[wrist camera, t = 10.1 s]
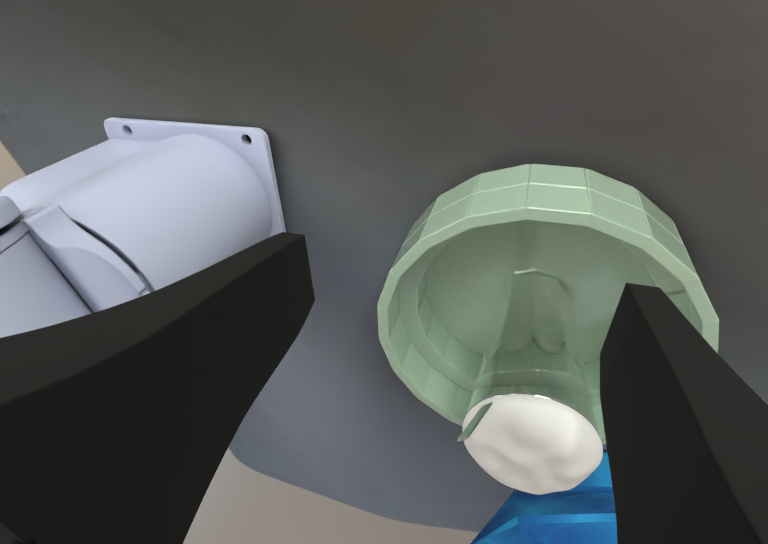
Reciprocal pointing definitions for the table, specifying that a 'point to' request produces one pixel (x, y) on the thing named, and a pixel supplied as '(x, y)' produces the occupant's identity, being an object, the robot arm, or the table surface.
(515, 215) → the bowl
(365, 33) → the table surface
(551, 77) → the table surface
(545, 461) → the milkshake
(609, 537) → the crystal
